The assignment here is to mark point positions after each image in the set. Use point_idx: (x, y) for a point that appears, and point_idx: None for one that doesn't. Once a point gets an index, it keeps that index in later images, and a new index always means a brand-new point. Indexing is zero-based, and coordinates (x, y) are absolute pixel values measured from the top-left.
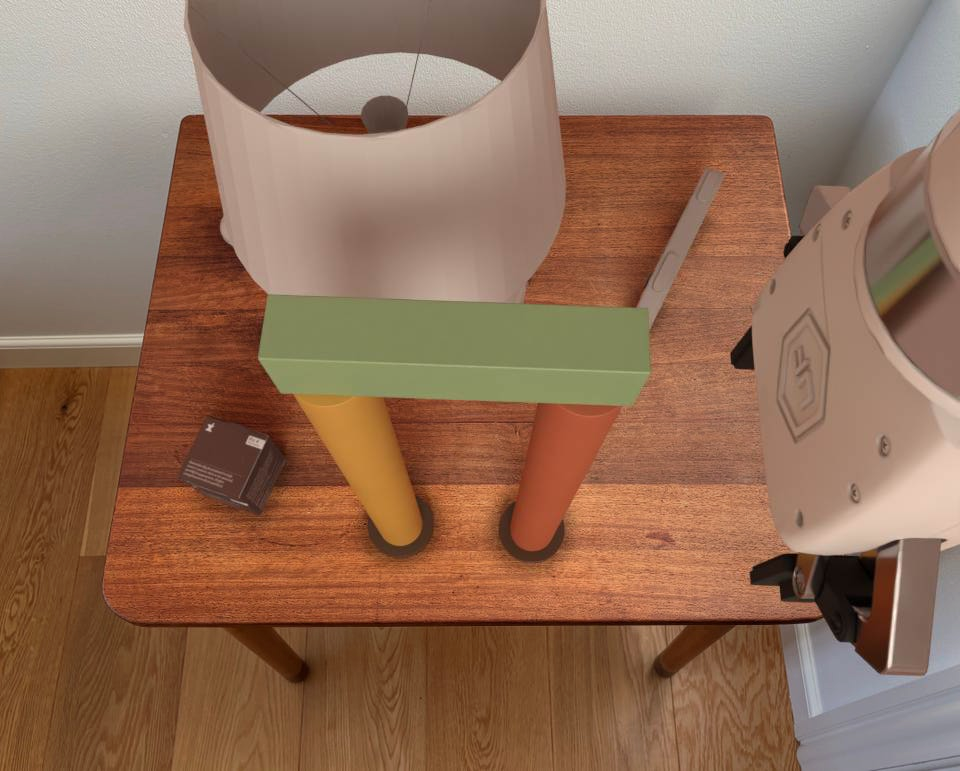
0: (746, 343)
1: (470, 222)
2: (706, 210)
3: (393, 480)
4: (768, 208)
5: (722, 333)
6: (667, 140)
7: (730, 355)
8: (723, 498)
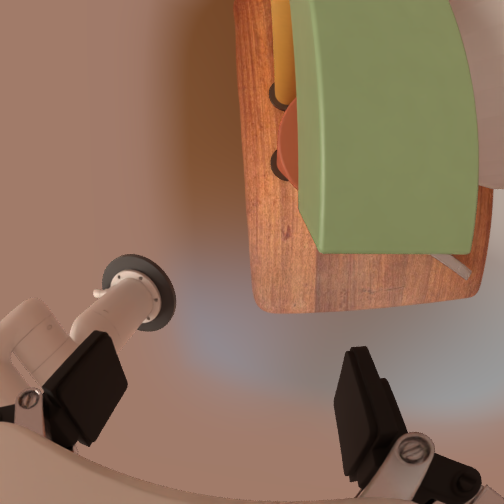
0: (368, 392)
1: (484, 89)
2: (454, 270)
3: (281, 51)
4: (445, 297)
5: (393, 272)
6: (481, 251)
7: (363, 348)
8: (308, 266)
